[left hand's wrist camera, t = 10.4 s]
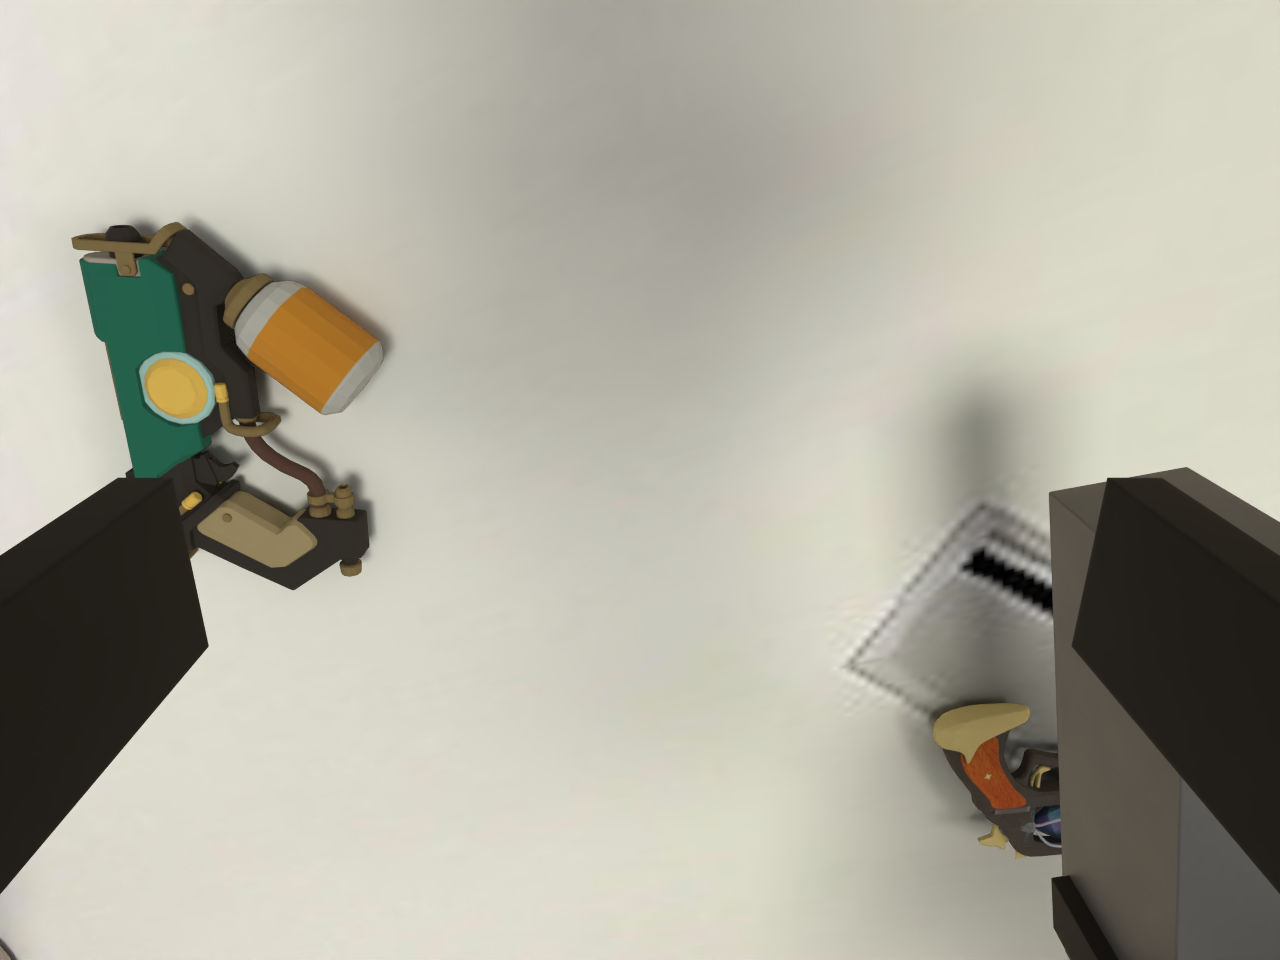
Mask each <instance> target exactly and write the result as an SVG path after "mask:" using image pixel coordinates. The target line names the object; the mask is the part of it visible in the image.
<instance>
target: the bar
mask: <svg viewBox="0 0 1280 960" xmlns="http://www.w3.org/2000/svg"><path fill="white" fill-rule="evenodd" d="M1129 478H1163V479H1165V480H1166V481H1168V482H1169V483H1171V484H1172V485H1174V486H1175V487H1177V488H1178V489H1180V490H1181V491H1183V492H1184V493H1186V494H1187V495H1189V496H1190V497H1192V498H1193V499H1195V500H1196V501H1198V502H1199V503H1201V504H1202V505H1204V506H1205V507H1207V508H1208V509H1210V510H1212V511H1213V512H1215V513H1216V514H1218V515H1219V516H1221V517H1222V518H1224V519H1225V520H1227V521H1228V522H1230V523H1231V524H1233V525H1234V526H1236V527H1237V528H1239V529H1240V530H1242V531H1243V532H1245V533H1246V534H1248V535H1249V536H1251V537H1252V538H1254V539H1255V540H1257V541H1258V542H1260V543H1262V544H1263V545H1265V546H1266V547H1268V548H1269V549H1271V550H1272V551H1274V552H1275V553H1277V554H1278V555H1280V522H1279V521H1277V520H1275V519H1273V518H1272V517H1270V516H1268V515H1267V514H1265V513H1263V512H1262V511H1260V510H1258V509H1257V508H1255V507H1253V506H1252V505H1250V504H1248V503H1247V502H1245V501H1243V500H1242V499H1240V498H1238V497H1236V496H1235V495H1233V494H1231V493H1230V492H1228V491H1226V490H1225V489H1223V488H1221V487H1220V486H1218V485H1216V484H1215V483H1213V482H1211V481H1210V480H1208V479H1206V478H1205V477H1203V476H1201V475H1199V474H1198V473H1196V472H1194V471H1193V470H1191V469H1189V468H1187V467H1184V468H1179V469H1173V470H1168V471H1162V472H1157V473H1151V474H1146V475H1140V476H1135V477H1129ZM1105 487H1106V482H1102V483H1097V484H1091V485H1086V486H1080V487H1075V488H1069V489H1064V490H1058V491H1053V492H1049V509H1050V537H1051V564H1052V592H1053V620H1054V648H1055V676H1056V704H1057V731H1058V759H1059V787H1060V815H1061V843H1062V870H1063V876H1068V875H1069V876H1070V878H1071V879H1072V881H1073V883H1074V885H1075V886H1076V888H1077V890H1078V891H1079V893H1080V895H1081V897H1082V898H1083V900H1084V902H1085V903H1086V905H1087V907H1088V908H1089V910H1090V912H1091V914H1092V915H1093V917H1094V919H1095V920H1096V922H1097V924H1098V926H1099V927H1100V929H1101V931H1102V932H1103V934H1104V936H1105V937H1106V939H1107V941H1108V943H1109V944H1110V946H1111V948H1112V949H1113V951H1114V953H1115V955H1116V956H1117V958H1118V960H1280V894H1279V893H1278V891H1277V890H1276V889H1275V888H1274V887H1273V886H1272V884H1271V883H1270V882H1269V881H1268V880H1267V878H1266V877H1265V876H1264V875H1263V874H1262V872H1261V871H1260V870H1259V869H1258V868H1257V867H1256V865H1255V864H1254V863H1253V862H1252V861H1251V859H1250V858H1249V857H1248V856H1247V855H1246V853H1245V852H1244V851H1243V850H1242V849H1241V847H1240V846H1239V845H1238V844H1237V843H1236V842H1235V840H1234V839H1233V838H1232V837H1231V836H1230V834H1229V833H1228V832H1227V831H1226V830H1225V828H1224V827H1223V826H1222V825H1221V824H1220V823H1219V821H1218V820H1217V819H1216V818H1215V817H1214V815H1213V814H1212V813H1211V812H1210V811H1209V809H1208V808H1207V807H1206V806H1205V805H1204V803H1203V802H1202V801H1201V800H1200V799H1199V798H1198V796H1197V795H1196V794H1195V793H1194V792H1193V790H1192V789H1191V788H1190V787H1189V786H1188V784H1187V783H1186V782H1185V781H1184V780H1183V779H1182V777H1181V776H1180V775H1179V774H1178V773H1177V771H1176V770H1175V769H1174V768H1173V767H1172V765H1171V764H1170V763H1169V762H1168V761H1167V759H1166V758H1165V757H1164V756H1163V755H1162V754H1161V752H1160V751H1159V750H1158V749H1157V748H1156V746H1155V745H1154V744H1153V743H1152V742H1151V740H1150V739H1149V738H1148V737H1147V736H1146V735H1145V733H1144V732H1143V731H1142V730H1141V729H1140V727H1139V726H1138V725H1137V724H1136V723H1135V721H1134V720H1133V719H1132V718H1131V717H1130V715H1129V714H1128V713H1127V712H1126V711H1125V710H1124V708H1123V707H1122V706H1121V705H1120V704H1119V702H1118V701H1117V700H1116V699H1115V698H1114V696H1113V695H1112V694H1111V693H1110V692H1109V690H1108V689H1107V688H1106V687H1105V686H1104V685H1103V683H1102V682H1101V681H1100V680H1099V679H1098V677H1097V676H1096V675H1095V674H1094V673H1093V671H1092V670H1091V669H1090V668H1089V667H1088V666H1087V664H1086V663H1085V662H1084V661H1083V660H1082V658H1081V657H1080V656H1079V655H1078V654H1077V652H1076V651H1075V650H1074V649H1073V648H1072V646H1071V645H1072V641H1073V636H1074V631H1075V627H1076V622H1077V617H1078V613H1079V608H1080V603H1081V599H1082V594H1083V589H1084V585H1085V580H1086V575H1087V571H1088V566H1089V561H1090V557H1091V552H1092V547H1093V543H1094V538H1095V533H1096V529H1097V524H1098V519H1099V515H1100V510H1101V505H1102V501H1103V496H1104V491H1105ZM1065 951H1066V950H1065ZM1066 953H1067V952H1066ZM1067 955H1068V954H1067ZM1068 957H1069V956H1068ZM1069 959H1070V957H1069ZM1070 960H1071V959H1070Z"/></svg>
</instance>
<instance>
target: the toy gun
mask: <svg viewBox="0 0 1280 960" xmlns="http://www.w3.org/2000/svg"><path fill="white" fill-rule="evenodd" d="M1029 715H1030V710H1029V707H1028V706H1024V705H1021V704H1016V703H997V704H977V705H970V706H964V707H960V708H956V709H953V710H950V711H948V712H945V713H944V714H942V715H941V716H940V717H939V718H938V719H937V721H936V722H935V724H934V726H933V738H934V740H935V742H936V743H937V744H938V745H939V746H940V747H941V748H943V751H944V753H945V756H946V758H947V760H948V762H949V763H950V765H951V767H952V769H953V770H954V771H955V773H956V774H957V776H958V777H959V778H960V780H961V781H962V782H963V783H964V785H965V786H966V787H967V788H968V790H969V791H970V792H971V795H972V801H973V803H974V804H975V805H976V807H977V808H978V809H979V810H981V811H982V812H983V813H984V815H985V816H986V817H987V818H988V819H989V820H990V821H991V822H993V823H994V824H993V827H992V831H991V833H990V834H989V835H986V836H982V837H979V838H977V839H978V841H979V842H980V843H981V844H982V845H986V846H997V847H999V848H1001V849H1005V845H1004V844H1005V842H1007V841H1009V842H1010V844H1011V845H1012V846H1013V848H1014V849H1015V850H1016V857H1015V858H1021V857H1025V856H1030V857H1033V856H1048V855H1059V854H1062V843H1061V815H1060V787H1059V780H1052V781H1040V780H1041V775H1042V773H1043V772H1045V771H1049V770H1051V769H1050V768H1049V767H1048V766H1051V767H1057V768H1059V759H1058V753H1050V752H1044V751H1039V750H1035V749H1026V750H1025V752H1024V756H1023V760H1022V762H1021V765H1020V767H1019V768H1018V769H1017V771H1015V772H1013V773H1010V771H1009V770H1008V767H1007V765H1006V762H1005V760H1004V747H1005V742H1006V739H1007V736H1008V733H1009V732H1010V730H1011V729H1013V728H1015V727H1017V726H1019V725H1021V724H1023V723H1025V722H1026V721H1027V720H1028V719H1029ZM1035 765H1039V766H1038V767H1037V768H1036V769H1035V771H1034V772H1033V773H1032V775H1031V777H1030V780H1029V775H1030V773H1031V771H1032V769H1033V768H1034V767H1035ZM1035 776H1036V781H1035V782H1034V779H1035ZM1028 781H1029V782H1028ZM1037 807H1043V808H1042V809H1041V810H1040V811H1039V812H1038V813H1037V814H1036V815H1035V808H1037ZM1036 829H1037V830H1039V831H1041V832H1043V833H1045V834H1047V835H1050V836H1041V834H1040V833H1039V832H1038V831H1037V830H1036ZM1033 832H1036V833H1037V835H1033Z"/></svg>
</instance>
